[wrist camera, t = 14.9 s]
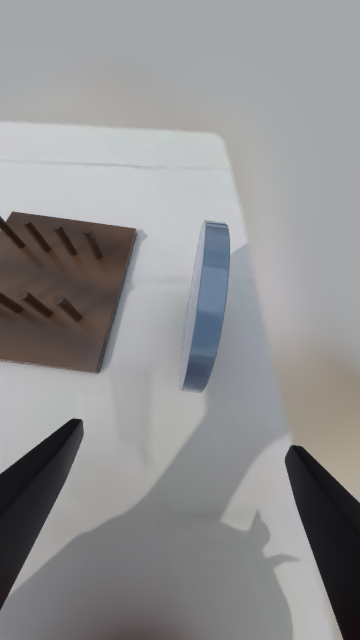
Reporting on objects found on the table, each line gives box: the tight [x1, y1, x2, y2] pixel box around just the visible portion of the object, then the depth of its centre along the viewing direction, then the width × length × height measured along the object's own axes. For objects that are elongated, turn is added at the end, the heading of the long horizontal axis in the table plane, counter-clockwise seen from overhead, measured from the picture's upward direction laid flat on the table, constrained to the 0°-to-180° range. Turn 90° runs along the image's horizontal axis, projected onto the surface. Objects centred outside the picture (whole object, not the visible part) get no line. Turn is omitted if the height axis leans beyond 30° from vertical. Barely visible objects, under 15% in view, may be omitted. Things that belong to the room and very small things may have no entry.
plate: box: [180, 220, 230, 393], centre depth 14 cm, size 11×1×11 cm, turn 173°
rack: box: [0, 212, 137, 373], centre depth 18 cm, size 16×14×4 cm
